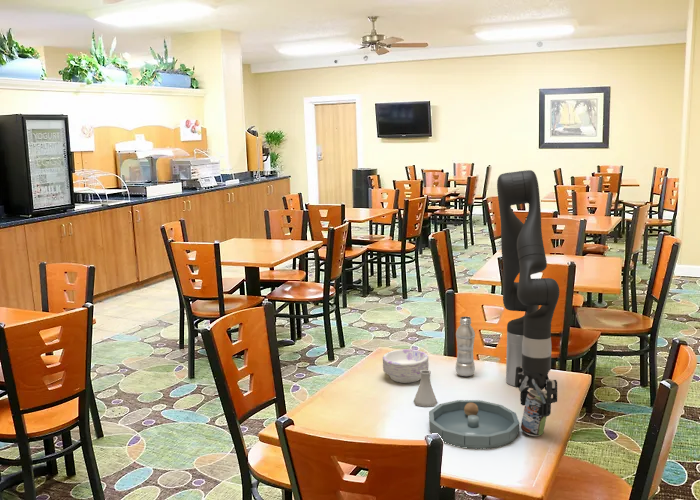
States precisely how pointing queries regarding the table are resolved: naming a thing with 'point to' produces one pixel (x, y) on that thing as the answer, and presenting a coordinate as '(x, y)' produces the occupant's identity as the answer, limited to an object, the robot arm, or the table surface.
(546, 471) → the table surface
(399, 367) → the paper bowls
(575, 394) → the table surface
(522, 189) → the robot arm
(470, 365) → the plastic bottle
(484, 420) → the tray
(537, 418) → the beverage can
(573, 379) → the table surface
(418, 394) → the flask
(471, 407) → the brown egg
